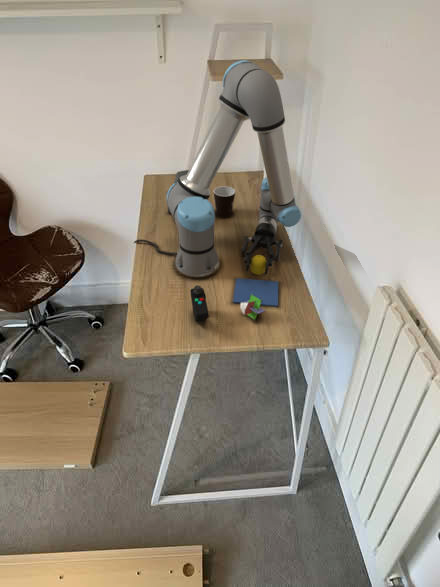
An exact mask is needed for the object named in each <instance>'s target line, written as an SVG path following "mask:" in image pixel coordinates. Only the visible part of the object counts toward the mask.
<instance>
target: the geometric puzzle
mask: <svg viewBox="0 0 440 587" xmlns="http://www.w3.org/2000/svg"><path fill="white" fill-rule="evenodd" d="M243 301H244V300H243ZM261 302H262V299H258V298H257V297H255V296H253V295H252V294H251V295H250V298H249V301H246V302H242V303H240V304H239V305H240V311H241V312H242V314H243V316H247V317H248V318H250V319H253V320H254V321H256V320H257V318H258V317H257V316H258V315H259V314H261V313H262V314H263V313H264V312H265V313H266V309H264V308H262V307H261ZM263 307H265V306H264V305H263Z"/></svg>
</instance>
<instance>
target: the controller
mask: <svg viewBox="0 0 440 587" xmlns="http://www.w3.org/2000/svg"><path fill="white" fill-rule="evenodd" d="M190 298H191V306H192V314H193V318H194V322H195V323H197V324H203V323H205V322H207V319H209V318H210V315H209V309H208V308H209V307H208V304H207V295H206V292H205V290H204V288H203V287H202V286H201V285H195V286H194V287H193V288H191V289H190Z"/></svg>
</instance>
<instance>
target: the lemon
mask: <svg viewBox="0 0 440 587" xmlns="http://www.w3.org/2000/svg"><path fill="white" fill-rule="evenodd" d="M266 263H267V258H266V257H265V256H263V255H261V254H256V255H254V256H252V257H251V263H250V266H249V270H250V271H251V273H252V274H254V275H256V276H261V275H263V274H265V267H266Z"/></svg>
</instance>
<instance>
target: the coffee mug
mask: <svg viewBox="0 0 440 587" xmlns="http://www.w3.org/2000/svg"><path fill="white" fill-rule="evenodd" d="M213 196H214V197H213V200H214V206H215V215H216V216H217V217H219V218H229V217H231V216H232V215H233V208H234V203H235V197H236V189H235V188H233V187H231V186H228V185H222V186H221V185H220V186H217V187H215V188H214V189H213Z"/></svg>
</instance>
